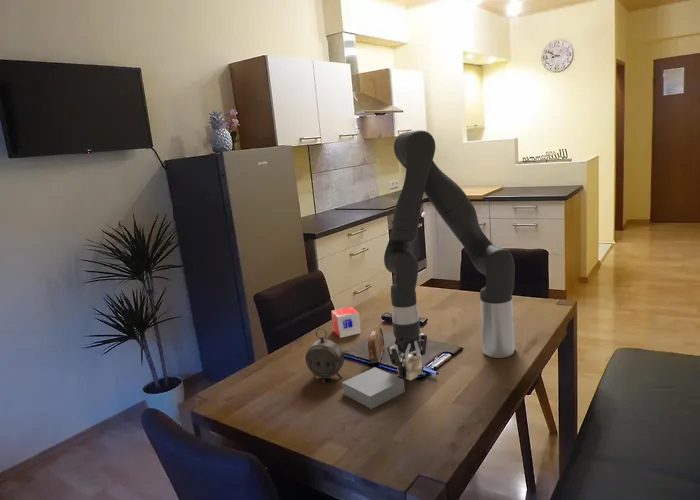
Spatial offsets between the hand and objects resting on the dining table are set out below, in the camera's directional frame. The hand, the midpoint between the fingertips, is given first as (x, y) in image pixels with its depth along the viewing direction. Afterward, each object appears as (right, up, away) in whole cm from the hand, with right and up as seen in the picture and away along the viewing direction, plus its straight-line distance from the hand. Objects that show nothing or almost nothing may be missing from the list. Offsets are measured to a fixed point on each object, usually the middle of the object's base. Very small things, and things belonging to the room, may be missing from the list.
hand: (410, 373), depth 152 cm
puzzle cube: (-19, +6, +38) cm, 43 cm away
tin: (-9, +2, +15) cm, 17 cm away
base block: (-11, -4, -8) cm, 14 cm away
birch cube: (0, 0, 0) cm, 0 cm away
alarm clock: (-24, -3, +3) cm, 25 cm away
